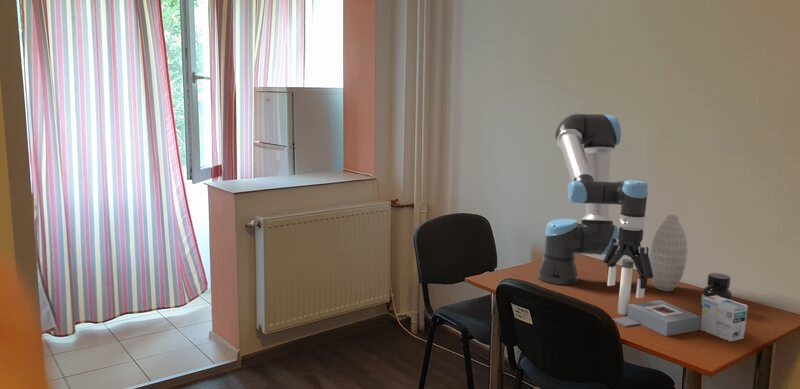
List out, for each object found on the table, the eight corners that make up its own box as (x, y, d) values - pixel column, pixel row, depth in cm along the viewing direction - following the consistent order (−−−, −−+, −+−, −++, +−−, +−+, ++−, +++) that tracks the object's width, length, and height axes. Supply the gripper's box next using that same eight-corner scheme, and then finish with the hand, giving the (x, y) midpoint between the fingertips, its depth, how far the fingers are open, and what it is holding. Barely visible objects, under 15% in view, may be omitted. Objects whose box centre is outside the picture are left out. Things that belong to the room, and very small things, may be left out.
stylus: (615, 311, 208) (620, 259, 205) (623, 310, 209) (628, 259, 206) (622, 315, 205) (627, 262, 202) (630, 314, 206) (636, 261, 203)
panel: (627, 317, 202) (628, 304, 202) (658, 312, 208) (660, 299, 207) (666, 336, 188) (667, 321, 187) (698, 330, 194) (700, 315, 193)
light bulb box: (744, 338, 188) (749, 305, 187) (730, 342, 185) (735, 308, 183) (712, 326, 198) (716, 294, 196) (698, 330, 194) (702, 297, 193)
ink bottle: (695, 304, 218) (699, 271, 216) (718, 304, 219) (723, 271, 217) (711, 314, 208) (715, 280, 206) (736, 314, 209) (740, 280, 207)
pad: (611, 320, 200) (611, 318, 200) (625, 318, 202) (626, 316, 202) (625, 327, 194) (625, 325, 194) (639, 324, 197) (640, 323, 197)
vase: (647, 281, 243) (655, 211, 238) (683, 286, 238) (691, 214, 233) (645, 290, 232) (653, 216, 227) (682, 296, 226) (691, 220, 222)
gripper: (596, 220, 211) (590, 281, 215) (651, 237, 189) (644, 304, 193) (613, 219, 214) (607, 279, 218) (669, 235, 193) (662, 301, 196)
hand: (625, 291), depth 206 cm, fingers open, 12 cm apart
